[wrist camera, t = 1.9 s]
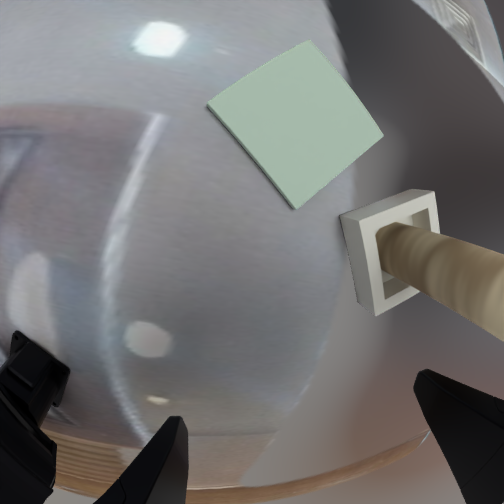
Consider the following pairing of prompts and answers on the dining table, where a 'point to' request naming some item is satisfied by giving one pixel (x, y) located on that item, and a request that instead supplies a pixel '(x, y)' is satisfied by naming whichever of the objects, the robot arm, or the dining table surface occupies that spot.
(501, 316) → the pepper mill
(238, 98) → the plate
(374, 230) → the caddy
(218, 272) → the dining table surface
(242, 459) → the dining table surface
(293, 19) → the dining table surface
